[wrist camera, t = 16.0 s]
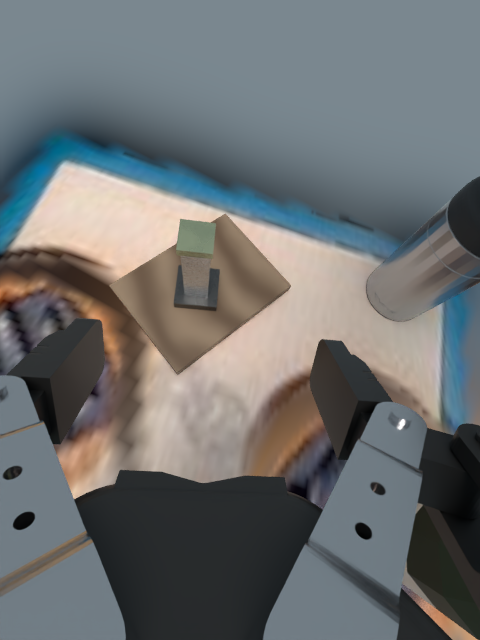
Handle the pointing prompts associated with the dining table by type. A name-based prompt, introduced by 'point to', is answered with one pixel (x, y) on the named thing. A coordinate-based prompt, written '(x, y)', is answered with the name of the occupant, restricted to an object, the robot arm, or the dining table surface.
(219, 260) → the serving board
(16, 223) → the dining table surface
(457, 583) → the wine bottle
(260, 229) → the dining table surface
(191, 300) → the square capped column
